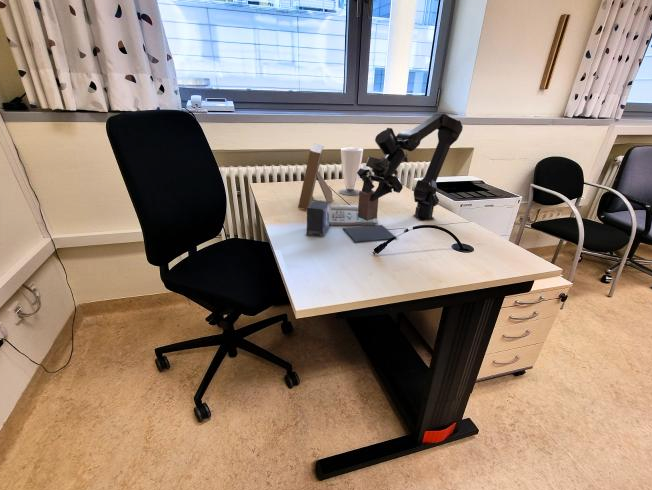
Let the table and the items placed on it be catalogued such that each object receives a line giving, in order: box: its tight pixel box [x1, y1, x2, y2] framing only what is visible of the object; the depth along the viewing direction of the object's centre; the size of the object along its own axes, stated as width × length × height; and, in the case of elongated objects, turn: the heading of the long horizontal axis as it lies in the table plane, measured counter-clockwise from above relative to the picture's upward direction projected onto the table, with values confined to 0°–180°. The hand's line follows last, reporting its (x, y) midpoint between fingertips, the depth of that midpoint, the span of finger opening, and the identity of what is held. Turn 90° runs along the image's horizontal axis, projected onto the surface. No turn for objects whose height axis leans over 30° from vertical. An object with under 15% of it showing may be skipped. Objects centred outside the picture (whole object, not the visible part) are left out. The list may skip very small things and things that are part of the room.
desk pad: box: [342, 224, 397, 244], centre depth 127 cm, size 16×14×1 cm
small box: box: [306, 199, 330, 237], centre depth 125 cm, size 11×6×10 cm, turn 168°
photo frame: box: [297, 143, 334, 211], centre depth 154 cm, size 15×22×25 cm
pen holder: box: [357, 189, 380, 221], centre depth 122 cm, size 5×5×10 cm
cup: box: [339, 146, 364, 196], centre depth 173 cm, size 12×12×22 cm
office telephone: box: [329, 204, 378, 226], centre depth 144 cm, size 23×3×20 cm
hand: (365, 199), depth 120 cm, fingers closed on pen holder, 5 cm apart
